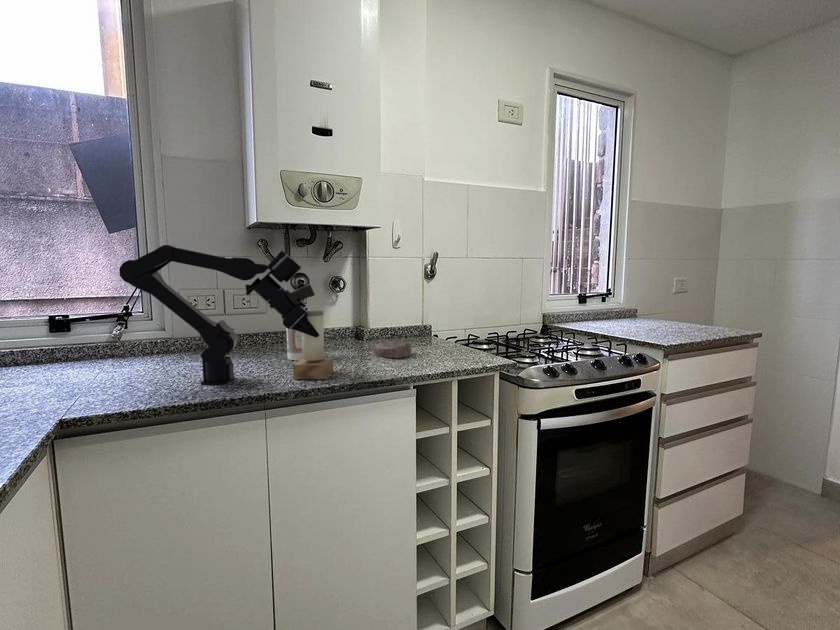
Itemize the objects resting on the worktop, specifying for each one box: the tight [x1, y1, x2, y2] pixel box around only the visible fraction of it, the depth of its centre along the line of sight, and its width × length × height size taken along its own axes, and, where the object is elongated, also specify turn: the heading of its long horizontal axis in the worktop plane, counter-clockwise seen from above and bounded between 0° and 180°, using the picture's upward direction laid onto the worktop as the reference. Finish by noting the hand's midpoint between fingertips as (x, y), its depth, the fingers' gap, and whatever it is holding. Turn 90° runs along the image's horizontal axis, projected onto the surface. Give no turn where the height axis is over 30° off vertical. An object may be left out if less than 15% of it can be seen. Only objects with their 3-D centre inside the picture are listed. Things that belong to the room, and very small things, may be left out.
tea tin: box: [302, 309, 325, 360], centre depth 120 cm, size 6×6×13 cm
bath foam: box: [285, 327, 303, 362], centre depth 141 cm, size 7×7×20 cm
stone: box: [372, 340, 412, 360], centre depth 147 cm, size 12×9×5 cm
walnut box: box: [292, 357, 335, 380], centre depth 121 cm, size 9×9×4 cm
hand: (317, 334), depth 121 cm, fingers closed on tea tin, 6 cm apart
